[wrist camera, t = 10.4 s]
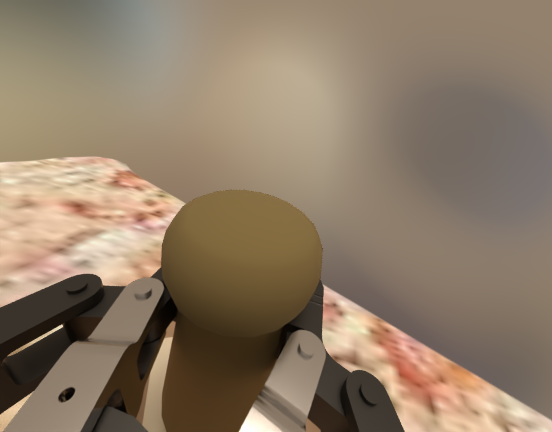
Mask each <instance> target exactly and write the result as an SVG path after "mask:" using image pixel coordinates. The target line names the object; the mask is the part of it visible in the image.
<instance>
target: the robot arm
mask: <svg viewBox="0 0 552 432" xmlns="http://www.w3.org/2000/svg"><path fill="white" fill-rule="evenodd" d="M323 293H324V287H323V285H322V283H321V280H320V281H319V283H318V285H317V287H316V290H315V292H314V293H313V295H312V297H311V298H310V300H309V302H308V303H307V305H306V307H305V308H304V309H303V310H302V311H301V312H300V313H299V314H298V315H297V316H296V317H295V318H294V319H293V320H291V321H290V322H288V323H287V324H286V325H284V326H283V329H282V332H281V335H280V340H279V347H278V355H277V359H278V360H277V362H276V364H275V366H274V368H273V370H272V372H271V374H270V376H269V378H268V380H267V382H266V383H265V385H264V387H263V389H262V391H261V392H260V393H259V395H258V396H257V398H256V400H255V402H254V404H253V406H252V408H251V410H250V412H249V413H248V415H247V417H246V419H245V421H244V423H243V425H242V427H241V429H240V431H239V432H306V420H307V418H308V419H309V420H310V421H311V422H312V423H313V424H315V425H316V426H317V427H318V428H319V429H320V430H321V432H405V431H404V429H403V427H402V425H401V422H400V420H399V418H398V416H397V413H396V411H395V409H394V407H393V404H392V402H391V400H390V398H389V396H388V393H387V391H386V390H385V388H384V386H383V385H382V384H381V382H380V381H379V380H378V379H377V378H376V377H374V376H373V375H372V374H370V373H368V372H366V371H363V370H356V371H353V372H352V373H351V372H349V371H348V370H347V369H345V368H344V367H342V366H341V365H340V364H338V363H337V362H336V361H334V360H333V359H332V358H331V357H330V355H329V354H328V353H327V351H326V349H325V347H324V345H323V341H322V319H323ZM177 313H178V309H177V307H176V305H175V303H174V301H173V299H172V297H171V295H170V293H169V291H168V289H167V287H166V285H165V283H164V281H163V277H162V267H161V268H160V269H159V270H158V271H157V272H156V273H155V274H154V275H152V276H151V277H150V278H141V279H138V280H135V281H133V282H131V283H130V284H128V285H127V286H103V284H102V281H101V279H100V277H98V276H96V275H93V274H81V275H76V276H73V277H70V278H67V279H65V280H63V281H61V282H58V283H56V284H54V285H51V286H49V287H47V288H44V289H42V290H40V291H38V292H35V293H33V294H31V295H28V296H26V297H24V298H21V299H19V300H17V301H15V302H12V303H10V304H8V305H5V306H3V307H1V308H0V414H1V413H3V412H4V411H6V410H7V409H9V408H10V407H11V406H13V405H14V404H16V403H17V402H19V401H20V400H22V399H23V398H24V397H26V396H27V395H29V394H30V393H32V392H33V391H34V392H33V393H32V395H31V396H30V397H29V398H28V400H27V401H26V402H25V404H24V405H23V406H22V408H21V409H20V410H19V411H18V413H17V414H16V415H15V417H14V418H13V419H12V420H11V422H10V423H9V424H8V426H7V427H6V428H5V429H4V431H3V432H148V431H147V430H146V429H145V428H144V427H143V426H142V425H141V423H140V422H139V421H138V420H137V419H136V417H137V415H138V412H139V409H140V406H141V403H142V399H143V393H144V388H145V385H146V382H147V379H148V377H149V375H150V372H151V370H152V367H153V365H154V362H155V360H156V358H157V355H158V353H159V350H160V348H161V345H162V343H163V341H164V338H165V336H166V331H167V328H168V326H169V325H170V324H171V322H172V321H174V322H176V318H177ZM61 324H62V325H63V327H62V328H61V329H59V330H57V331H55V332H54V333H52V334H50V335H48V336H47V337H45V338H43V339H41V340H40V341H38V342H36V343H34V344H32V345H31V346H29V347H27V348H25V349H24V350H22V351H20V352H18V353H16V354H14V355H11V356H8V355H9V354H10V353H12V352H13V351H15V350H16V349H18V348H20V347H22V346H24V345H25V344H27V343H29V342H31V341H33V340H34V339H36V338H38V337H40V336H42V335H43V334H45V333H47V332H49V331H50V330H52V329H54V328H56V327H58V326H59V325H61ZM7 356H8V357H7Z"/></svg>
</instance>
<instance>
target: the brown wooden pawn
mask: <svg viewBox="0 0 552 432" xmlns="http://www.w3.org/2000/svg"><path fill="white" fill-rule="evenodd" d="M322 251H323V248H322V245H321V242H320V238H319V235H318V233H317V231H316V228H315V226H314V224H313V223H312V222H311V221H310V220H309V218H308V217H307V216H306V215H305V214H304V213H302V212H301V211H300V210H299V209H297V208H296V207H294V206H293V205H291V204H290V203H288V202H286V201H283V200H281V199H279V198H277V197H274V196H271V195H267V194H263V193H260V192H254V191H247V190H225V191H217V192H213V193H210V194H207V195H204V196H201V197H198V198H195V199H193V200H192V201H190V202H189V203H187V204H186V205H184V206H183V207H182V208H181V210H180V211H179V212H178V213H177V215H176V216H175V217H174V219H173V220H172V222H171V224H170V225H169V227H168V228H167V230H166V233H165V236H164V240H163V243H162V257H161V267H162V277H163V281H164V283H165V285H166V287H167V289H168V291H169V293H170V295H171V297H172V299H173V301H174V303H175V305H176V307H177V309H178V313H177V318H176V323H175V329H174V334H173V339H172V344H171V349H170V354H169V360H168V365H167V370H166V375H165V380H164V386H163V391H162V419H163V423H164V426H165V429H166V432H239V431H240V429H241V427H242V425H243V423H244V421H245V419H246V417H247V415H248V413H249V412H250V410H251V408H252V406H253V404H254V402H255V400H256V398H257V396H258V395H259V393H260V392H261V391H262V389H263V387H264V385H265V383H266V382H267V380H268V378H269V376H270V374H271V372H272V370H273V368H274V366H275V364H276V362H277V360H278V359H277V355H278V347H279V340H280V335H281V332H282V329H283V326H284V325H286V324H287V323H288V322H290V321H291V320H293V319H294V318H295V317H296V316H297V315H298V314H299V313H300V312H301V311H302V310H303V309H304V308H305V307H306V305H307V303H308V302H309V300H310V298H311V297H312V295H313V293H314V292H315V290H316V287H317V285H318V283H319V281H320V278H321V266H322Z"/></svg>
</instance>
